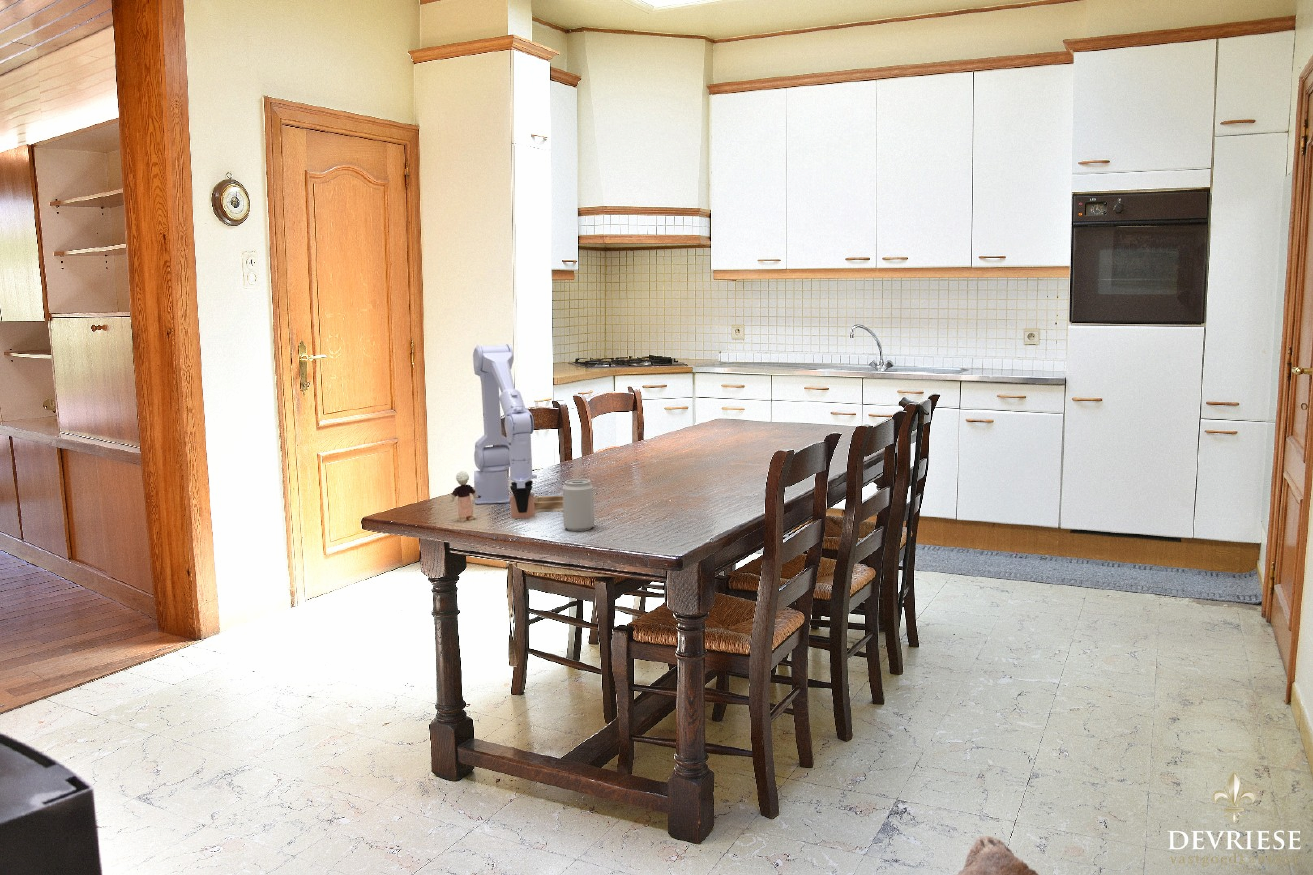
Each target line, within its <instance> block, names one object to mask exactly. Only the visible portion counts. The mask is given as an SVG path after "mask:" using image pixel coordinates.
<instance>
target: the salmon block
mask: <svg viewBox="0 0 1313 875" xmlns="http://www.w3.org/2000/svg"><path fill="white" fill-rule="evenodd" d="M531 492H532V491H531ZM531 492H530V495H529V500H528V508H527V512H526V513H519V512H518V509H517V505H516V500H515V497H514V494H513V493H511V494H510V495H509V496H510V502H509V503H510V518H511V519H520V518H522V519H523V518H535V516H536V515H535V514H536V512H535V510H534V497H535V494H534V493H531Z"/></svg>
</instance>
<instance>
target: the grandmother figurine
mask: <svg viewBox="0 0 1313 875" xmlns="http://www.w3.org/2000/svg"><path fill="white" fill-rule="evenodd" d="M455 480H456V481H457V483H458V484H459V486H457V487H455V488H454V489H453V491H452V492H451V496H450V499H449V500H450V502H451V503H453V502H455V499H456V497H457V506H458V518H457V522H467V521H472V520H475V518H474V513H473V510H474V509H473V504H472V500H471V496H470V495H472V496H473V498H474V500H475V499H477V498H478V496H477V494H476V492H475V488H473V486H472V485H471V484H468V481H469V480H470V476H469V474H468V473H467V471H459V472H458V473H457V474H456V475H455Z"/></svg>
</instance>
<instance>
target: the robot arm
mask: <svg viewBox="0 0 1313 875" xmlns="http://www.w3.org/2000/svg"><path fill="white" fill-rule="evenodd" d="M472 360H473V361H472V363H473V371H474V375H476V376H478V377H479V379H480V385H481V386H480V387H481V388H480V389H481V401H482V402H481V404H482V416H483V418H482V419H483V435H482V436H481V437H480V438H479V439H478V440H477V441H476V442H475V443H474V454H473V457H474V458H473V460H474V461H473V462H474V465H475V467H476V468H477V469H478V470H474V473H473V484H474V486H473V487H474V488H473V489H474V490H475V492H476V494H477V496H478V498H477V499H475V498H474V504H475V505H480V504H481V505H482V504H503V503H504V504H505V503H507V504H508V503H511V502H510V496H511V495H509V487H510V490H511V492H512V494H514V497H515V500H516V505H517V509H518V512H519V513H526V512H527V508H528V500H529V495H530V492H532V490H533V482H534V481H533V479H537V478H538V474H533V461H532V459H533V456H532V455H533V454H532V434H533V432H534V429H535V422H534V417H533V414H532V412H531V411H529V409H528V408H526V406H525V404H524V399H523V397H522V394H521V392H520V390H518V389H515V384H514V380H513V376H512V367H513V364H514V351H513V348H512V346H511V345H510V344H509V343H507V344H499V345H498V344H497V345H496V344H495V345H493V344H492V345H476V346H475V347H474V349H473V353H472ZM500 392H501V393H500ZM501 409H502V411H503V415H504V430H505V433H506V436H504V435H503V434H502V421H501V420H502V418H501ZM508 470H509V473H508ZM508 474H509V478H508ZM508 480H510V481H511V484H510V486H509V481H508Z"/></svg>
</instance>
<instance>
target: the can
mask: <svg viewBox="0 0 1313 875" xmlns="http://www.w3.org/2000/svg"><path fill="white" fill-rule="evenodd" d="M561 488H562V496H563V511H562V514H563V515H562V517H563V526H564V528H565V529H566V530H568V531H572V532H583V531H589V530H591V529H592V527H594V525H595V509H594V508H595V504H594V501H595V500H594V486H593V485H592V484H591V480H590V479H586V478H571V479H567V480H565V481H564V484H563V486H562V487H561Z"/></svg>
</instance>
